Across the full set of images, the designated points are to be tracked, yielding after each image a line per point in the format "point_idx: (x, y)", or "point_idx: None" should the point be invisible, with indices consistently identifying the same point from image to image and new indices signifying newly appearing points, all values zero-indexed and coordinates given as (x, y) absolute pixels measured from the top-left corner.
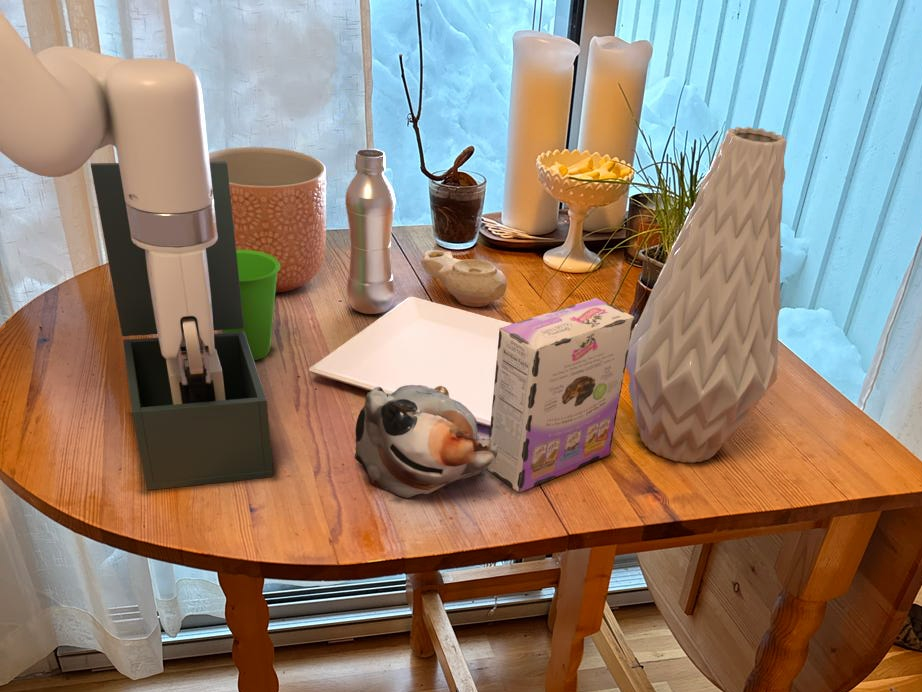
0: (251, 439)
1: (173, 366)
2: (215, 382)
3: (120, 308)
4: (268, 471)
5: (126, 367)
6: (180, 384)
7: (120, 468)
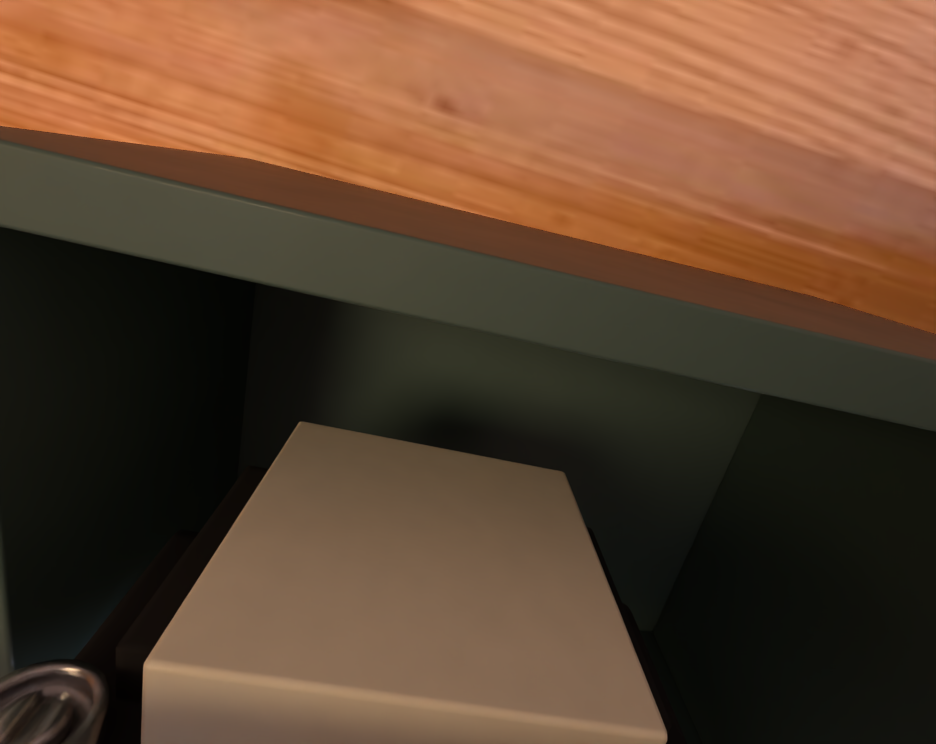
0: None
1: (339, 733)
2: None
3: None
4: None
5: (814, 332)
6: (129, 655)
7: (453, 108)
